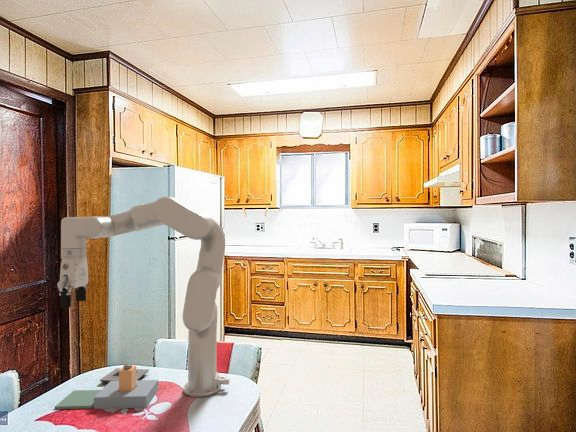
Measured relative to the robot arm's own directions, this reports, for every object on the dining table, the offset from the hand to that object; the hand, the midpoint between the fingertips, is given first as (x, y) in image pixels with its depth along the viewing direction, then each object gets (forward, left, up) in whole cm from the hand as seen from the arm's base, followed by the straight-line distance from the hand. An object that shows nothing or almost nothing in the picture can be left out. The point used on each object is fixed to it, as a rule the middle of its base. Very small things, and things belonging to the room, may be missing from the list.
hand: (73, 303), depth 126 cm
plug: (-20, +6, -30) cm, 37 cm away
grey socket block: (-20, +6, -30) cm, 36 cm away
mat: (-6, +6, -30) cm, 31 cm away
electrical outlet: (-13, -10, -31) cm, 35 cm away
